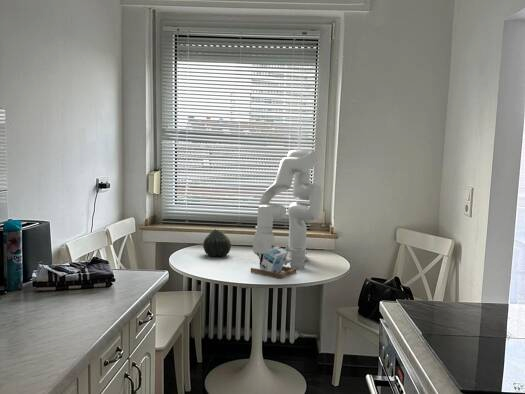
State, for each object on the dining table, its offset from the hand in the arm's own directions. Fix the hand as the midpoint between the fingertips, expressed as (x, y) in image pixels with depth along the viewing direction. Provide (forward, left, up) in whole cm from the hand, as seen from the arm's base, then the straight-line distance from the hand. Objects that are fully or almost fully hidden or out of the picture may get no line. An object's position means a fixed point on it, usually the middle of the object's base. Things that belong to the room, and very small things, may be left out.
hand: (262, 267), depth 221 cm
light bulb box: (0, +4, -1) cm, 4 cm away
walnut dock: (-1, +5, -2) cm, 6 cm away
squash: (-10, -38, -2) cm, 39 cm away
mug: (-16, +8, -2) cm, 18 cm away
